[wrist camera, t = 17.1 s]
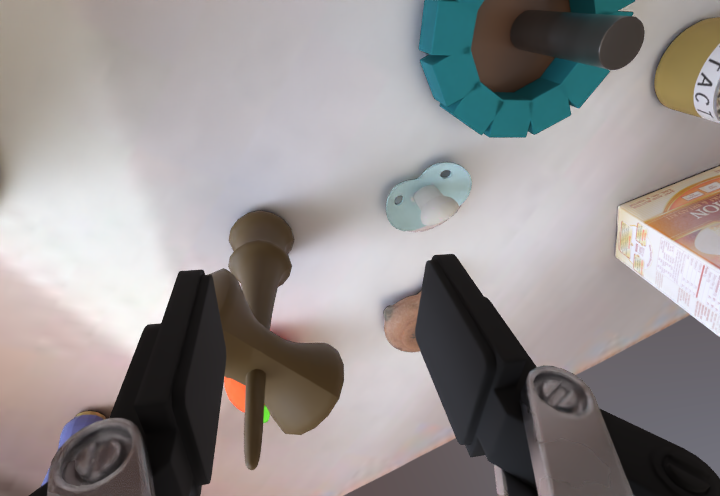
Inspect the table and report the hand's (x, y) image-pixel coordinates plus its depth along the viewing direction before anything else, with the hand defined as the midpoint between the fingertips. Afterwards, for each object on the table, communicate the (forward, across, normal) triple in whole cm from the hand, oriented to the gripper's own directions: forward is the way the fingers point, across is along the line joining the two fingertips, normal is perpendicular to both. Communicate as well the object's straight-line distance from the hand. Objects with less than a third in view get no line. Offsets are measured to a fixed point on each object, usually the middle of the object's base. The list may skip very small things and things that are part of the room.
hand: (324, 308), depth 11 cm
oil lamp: (+22, -12, +19) cm, 31 cm away
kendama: (+22, +3, +10) cm, 24 cm away
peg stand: (+22, -16, -6) cm, 27 cm away
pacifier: (+22, -11, +7) cm, 25 cm away
